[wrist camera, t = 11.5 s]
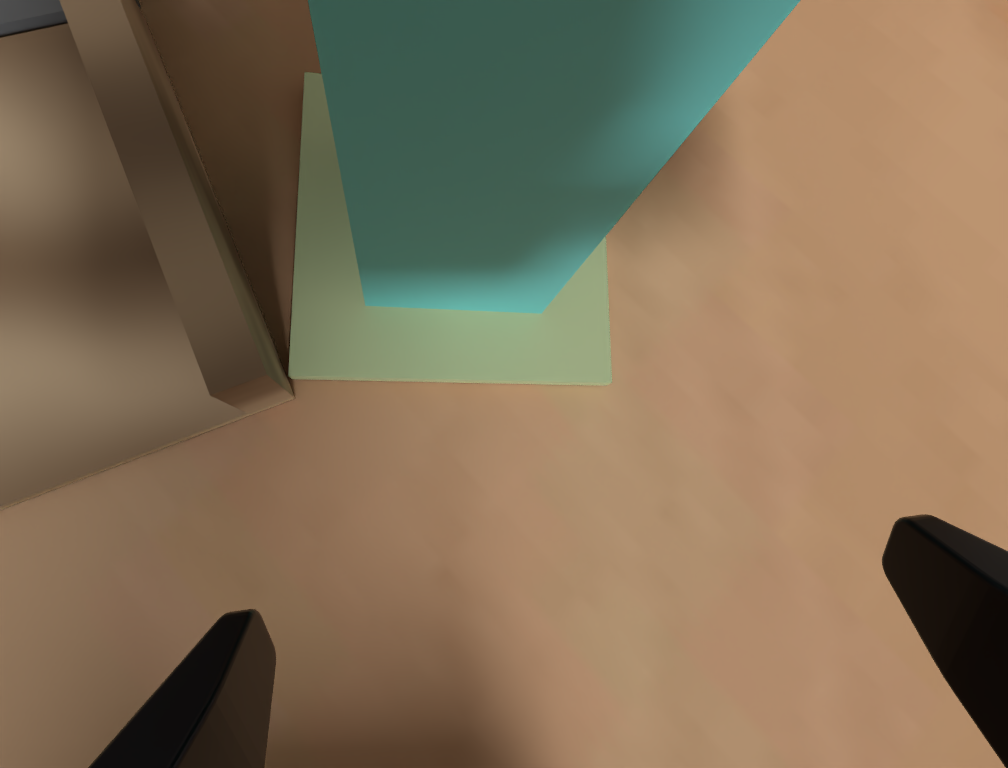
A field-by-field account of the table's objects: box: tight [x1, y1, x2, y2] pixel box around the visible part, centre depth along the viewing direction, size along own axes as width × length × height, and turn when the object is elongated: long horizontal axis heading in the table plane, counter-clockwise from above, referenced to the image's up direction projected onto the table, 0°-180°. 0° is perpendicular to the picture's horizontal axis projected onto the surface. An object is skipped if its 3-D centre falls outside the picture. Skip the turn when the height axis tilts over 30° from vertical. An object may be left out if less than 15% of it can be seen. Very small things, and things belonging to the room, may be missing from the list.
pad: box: [288, 72, 612, 386], centre depth 17 cm, size 9×9×1 cm
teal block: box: [308, 0, 800, 314], centre depth 11 cm, size 5×5×12 cm
